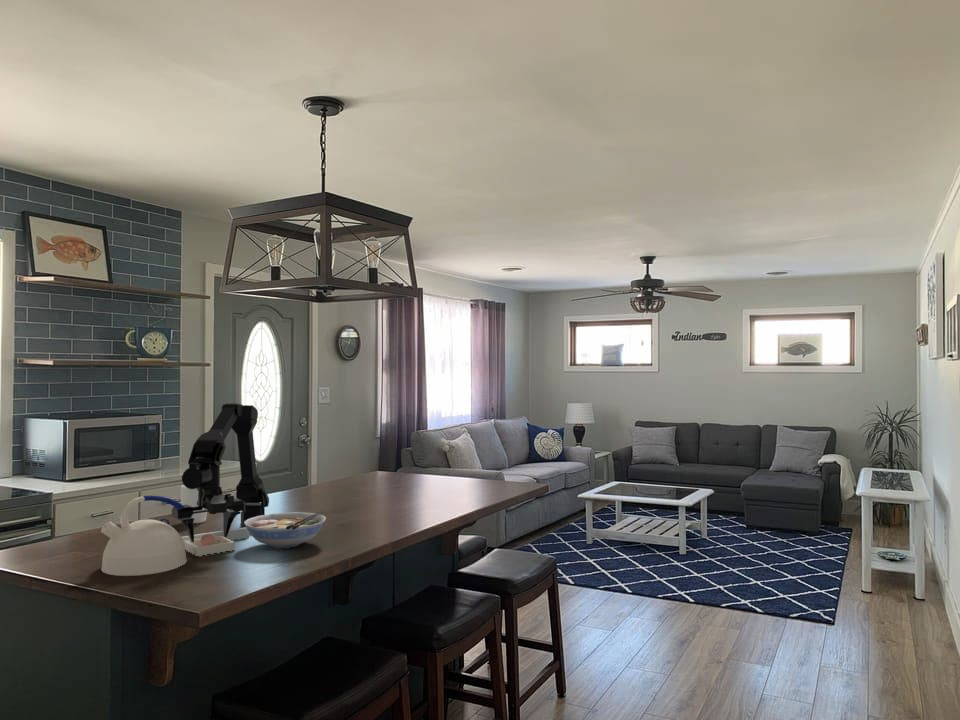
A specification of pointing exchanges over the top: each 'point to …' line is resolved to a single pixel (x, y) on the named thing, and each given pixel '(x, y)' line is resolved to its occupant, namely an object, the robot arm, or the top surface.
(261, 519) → the ramen bowl
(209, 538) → the ball
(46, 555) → the top surface
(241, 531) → the wall
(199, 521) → the cup
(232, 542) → the dish
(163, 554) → the kettle
